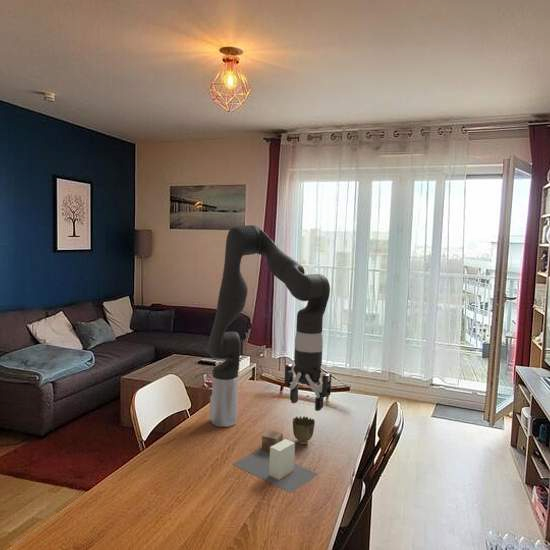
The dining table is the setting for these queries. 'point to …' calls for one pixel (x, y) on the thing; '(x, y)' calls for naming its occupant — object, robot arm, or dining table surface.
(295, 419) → the filigree lamp shade
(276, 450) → the cream block
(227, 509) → the dining table surface
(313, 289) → the robot arm
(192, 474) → the dining table surface
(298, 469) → the mat
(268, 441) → the walnut cube
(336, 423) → the dining table surface
